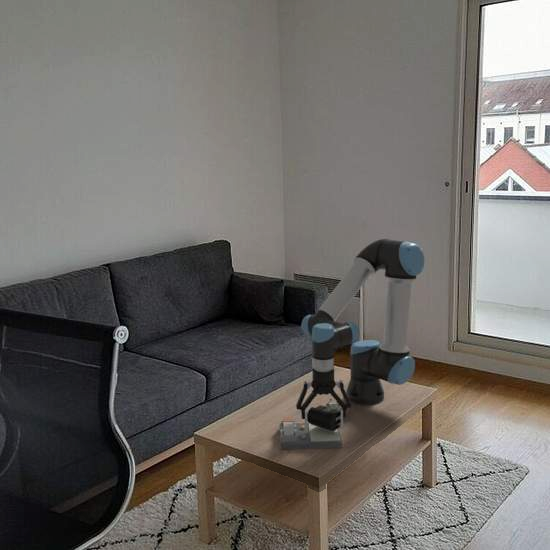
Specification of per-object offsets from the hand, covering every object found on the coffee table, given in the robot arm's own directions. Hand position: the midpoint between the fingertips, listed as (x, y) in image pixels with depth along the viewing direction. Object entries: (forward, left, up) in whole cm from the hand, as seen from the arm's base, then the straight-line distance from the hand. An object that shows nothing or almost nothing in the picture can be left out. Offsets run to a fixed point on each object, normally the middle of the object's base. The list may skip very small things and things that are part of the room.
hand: (323, 426), depth 233 cm
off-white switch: (+12, +3, -1) cm, 13 cm away
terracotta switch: (+12, -4, -2) cm, 13 cm away
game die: (-5, -13, -4) cm, 15 cm away
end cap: (0, 0, -1) cm, 1 cm away
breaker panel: (+5, 0, -4) cm, 7 cm away
